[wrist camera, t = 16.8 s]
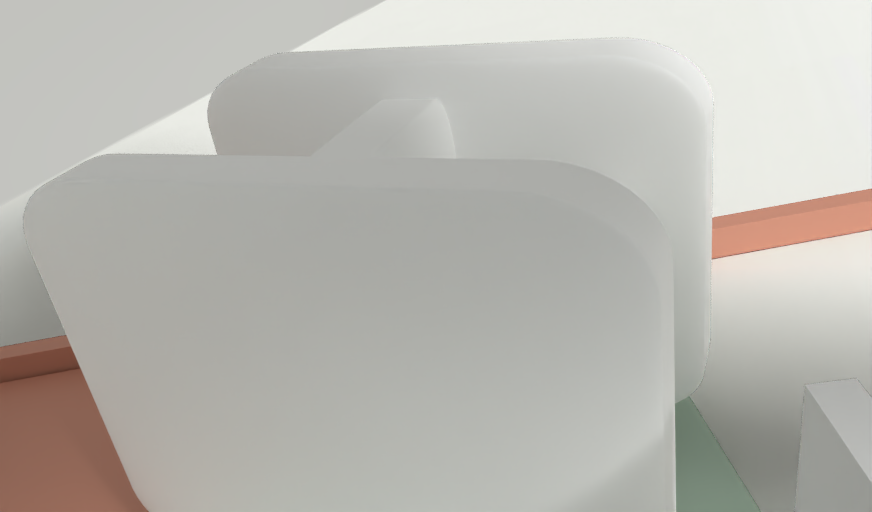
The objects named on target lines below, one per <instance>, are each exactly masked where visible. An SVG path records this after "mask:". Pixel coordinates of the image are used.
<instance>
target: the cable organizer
mask: <svg viewBox="0 0 872 512" xmlns="http://www.w3.org/2000/svg"><path fill="white" fill-rule="evenodd" d="M207 113H208V123H209V128H210V131H211V135H212V138H213V142H214V145H215V149H216V152H217V155H178V154H106V155H102V156H97V157H94V158H92V159H90V160H88V161H85V162H84V163H82V164H80V165H78V166H77V167H75V168H73V169H71V170H69V171H68V172H66V173H64V174H62V175H60V176H59V177H57V178H55V179H53V180H51V181H50V182H48V183H46V184H44V185H43V186H42V187H40V188H39V189H38V190H36V191H35V193H34V194H33V195H32V196H31V197H30V199H29V201H28V203H27V205H26V207H25V211H24V216H23V229H24V234H25V239H26V242H27V245H28V248H29V250H30V253H31V255H32V257H33V260H34V262H35V264H36V267H37V269H38V271H39V274H40V276H41V278H42V280H43V283H44V285H45V287H46V290H47V292H48V294H49V297H50V299H51V301H52V304H53V306H54V308H55V311H56V313H57V315H58V317H59V320H60V322H61V324H62V327H63V329H64V331H65V334H66V336H67V338H68V341H69V343H70V345H71V347H72V350H73V352H74V354H75V357H76V359H77V361H78V364H79V366H80V368H81V371H82V373H83V375H84V377H85V380H86V382H87V384H88V387H89V389H90V391H91V394H92V396H93V398H94V401H95V403H96V405H97V408H98V410H99V412H100V414H101V417H102V419H103V421H104V424H105V426H106V428H107V431H108V433H109V435H110V438H111V440H112V442H113V444H114V447H115V449H116V451H117V454H118V456H119V458H120V461H121V463H122V465H123V468H124V470H125V472H126V474H127V477H128V479H129V481H130V484H131V486H132V488H133V490H134V492H135V494H136V496H137V497H138V499H139V500H140V501H141V503H142V504H143V506H144V507H145V508H146V509H147V510H148V511H149V512H676V457H675V403H678V402H680V401H682V400H684V399H686V398H687V397H688V396H690V395H691V394H692V393H693V392H695V390H696V389H697V388H698V387H699V386H700V384H701V382H702V380H703V377H704V372H705V367H706V362H707V357H708V352H709V346H710V340H711V269H712V198H713V126H714V101H713V93H712V90H711V87H710V84H709V82H708V81H707V79H706V77H705V76H704V74H703V73H702V71H701V70H700V69H699V68H698V67H697V66H696V65H695V64H694V63H693V62H692V61H690V60H689V59H688V58H686V57H685V56H684V55H682V54H680V53H679V52H677V51H675V50H673V49H671V48H669V47H666V46H664V45H661V44H659V43H655V42H651V41H647V40H642V39H634V38H595V39H573V40H551V41H529V42H507V43H484V44H462V45H440V46H418V47H395V48H373V49H351V50H329V51H307V52H286V53H277V54H274V55H270V56H267V57H264V58H262V59H260V60H258V61H256V62H254V63H252V64H250V65H249V66H247V67H245V68H243V69H241V70H239V71H238V72H236V73H234V74H232V75H230V76H229V77H227V78H226V79H225V80H223V81H222V82H221V83H220V84H219V85H218V86H217V87H216V89H215V90H214V92H213V93H212V96H211V98H210V101H209V105H208V110H207Z"/></svg>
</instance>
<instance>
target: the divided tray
mask: <svg viewBox="0 0 872 512" xmlns="http://www.w3.org/2000/svg"><path fill="white" fill-rule="evenodd" d="M866 230H872V189H867V190H862V191H856V192H851V193H845V194H840V195H834V196H829V197H823V198H818V199H812V200H807V201H801V202H796V203H790V204H785V205H779V206H774V207H768V208H763V209H757V210H752V211H746V212H741V213H735V214H730V215H724V216H719V217H713V218H712V259H713V258H719V257H724V256H730V255H735V254H740V253H746V252H751V251H757V250H762V249H768V248H773V247H779V246H784V245H790V244H795V243H801V242H806V241H812V240H817V239H822V238H828V237H833V236H839V235H844V234H850V233H855V232H861V231H866ZM675 457H676V512H761V511H760V509H759V508H758V506H757V505H756V503H755V501H754V500H753V498H752V496H751V495H750V493H749V492H748V490H747V488H746V487H745V485H744V484H743V482H742V480H741V479H740V477H739V476H738V474H737V472H736V471H735V469H734V468H733V466H732V464H731V463H730V461H729V459H728V458H727V456H726V455H725V453H724V451H723V450H722V448H721V447H720V445H719V443H718V442H717V440H716V439H715V437H714V435H713V434H712V432H711V431H710V429H709V427H708V426H707V424H706V422H705V421H704V419H703V418H702V416H701V414H700V413H699V411H698V410H697V408H696V406H695V405H694V403H693V402H692V400H691V398H690V397H689V396H688V397H687V398H686V399H684V400H682V401H680V402H678V403H675ZM0 512H149V511H148V510H147V509H146V508H145V507H144V506H143V504H142V503H141V501H140V500H139V499H138V497H137V496H136V494H135V492H134V490H133V488H132V486H131V484H130V481H129V479H128V477H127V474H126V472H125V470H124V468H123V465H122V463H121V461H120V458H119V456H118V454H117V451H116V449H115V447H114V444H113V442H112V440H111V438H110V435H109V433H108V431H107V428H106V426H105V424H104V421H103V419H102V417H101V414H100V412H99V410H98V408H97V405H96V403H95V401H94V398H93V396H92V394H91V391H90V389H89V387H88V384H87V382H86V380H85V377H84V375H83V373H82V371H81V368H80V366H79V364H78V361H77V359H76V357H75V354H74V352H73V350H72V347H71V345H70V343H69V341H68V338H67V336H66V335H64V336H58V337H53V338H47V339H42V340H36V341H31V342H25V343H20V344H14V345H9V346H3V347H0Z"/></svg>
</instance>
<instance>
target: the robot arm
mask: <svg viewBox="0 0 872 512" xmlns="http://www.w3.org/2000/svg"><path fill="white" fill-rule="evenodd" d="M794 512H872V397H871V396H870V395H869V393H868V392H867V391H866V390H865V388H864V387H863V386H862V384H861V383H860V382H859V381H858V379H857V378H852V379H844V380H836V381H829V382H821V383H813V384H805V389H804V401H803V413H802V425H801V438H800V450H799V462H798V474H797V486H796V498H795V511H794Z"/></svg>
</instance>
